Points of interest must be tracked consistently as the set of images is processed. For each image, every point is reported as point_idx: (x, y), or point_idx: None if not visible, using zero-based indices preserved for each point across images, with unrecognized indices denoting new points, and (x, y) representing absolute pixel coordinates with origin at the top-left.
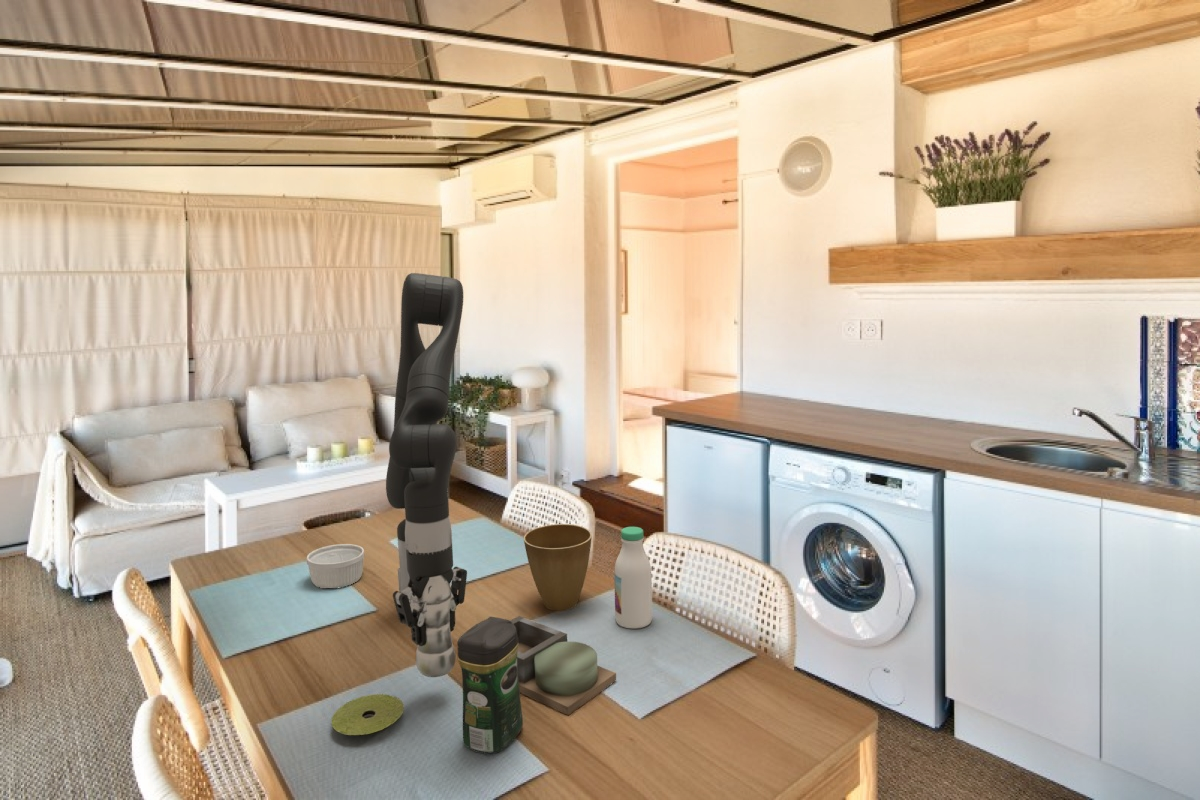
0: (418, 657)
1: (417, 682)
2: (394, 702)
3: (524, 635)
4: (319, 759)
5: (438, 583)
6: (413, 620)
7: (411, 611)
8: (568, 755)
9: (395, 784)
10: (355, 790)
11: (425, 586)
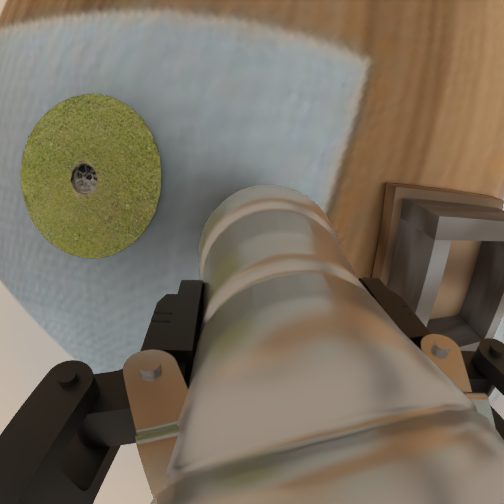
0: (199, 257)
1: (273, 111)
2: (145, 186)
3: (495, 244)
4: (4, 207)
5: None
6: (113, 450)
7: (91, 501)
8: None
9: (69, 345)
10: (27, 312)
11: None
